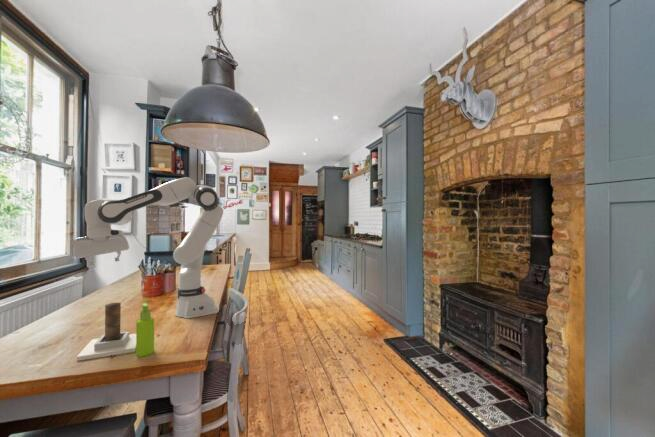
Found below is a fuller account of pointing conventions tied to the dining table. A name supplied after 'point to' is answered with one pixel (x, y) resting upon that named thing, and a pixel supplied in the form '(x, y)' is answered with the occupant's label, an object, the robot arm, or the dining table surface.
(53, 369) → the dining table surface
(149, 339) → the soap dispenser
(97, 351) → the stool seat
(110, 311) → the walnut leg
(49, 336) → the dining table surface
